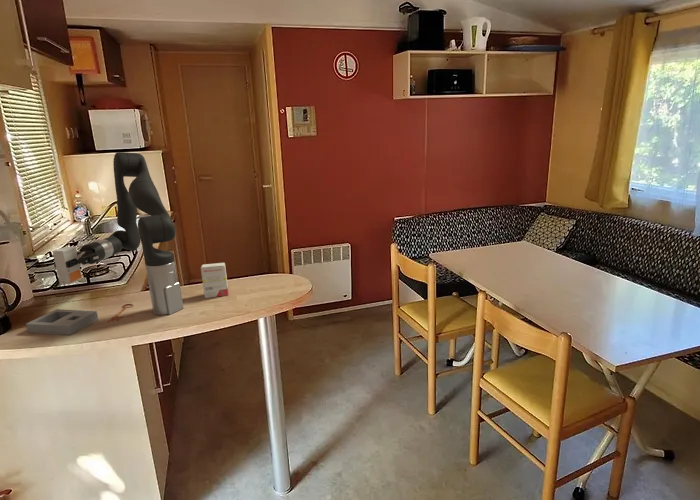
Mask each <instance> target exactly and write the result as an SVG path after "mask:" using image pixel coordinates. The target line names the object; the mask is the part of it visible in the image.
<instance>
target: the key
mask: <svg viewBox="0 0 700 500" xmlns="http://www.w3.org/2000/svg"><path fill="white" fill-rule="evenodd" d="M121 307H122V309H121V310H120V311H118V312H117V313H116V314H115V315H113V316H112V317H111V318H110V319H108V320H107V323H111V322H118V321H120V320H121V319H123V318H124V316H120V315H121V314H122V313H123V312H124V311H126V310H127V309H131V308H133V307H134V304H132V303H126V304H123V305H122V306H121Z"/></svg>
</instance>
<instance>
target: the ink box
mask: <svg viewBox="0 0 700 500" xmlns="http://www.w3.org/2000/svg"><path fill="white" fill-rule="evenodd" d="M200 273H201V279H202V280H201V281H202V287H203V293H204V299H208V298H215V297H216V298H218V297H223V296H225V297H226V296H229V287H228V286H229V285H228V278H227V277H228V276H227V269H226V263H225V262H217V263H207V264H206V263H205V264H202V265H201V266H200Z"/></svg>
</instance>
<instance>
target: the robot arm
mask: <svg viewBox="0 0 700 500" xmlns="http://www.w3.org/2000/svg"><path fill="white" fill-rule="evenodd" d="M112 164H113V175H114V176H113V177H114V185H115V194H116V203H117V204H116V205H117V207H116V209H117V210H116V214H117V216H116V217H117V219H116V221H117V222H116V224H117V226H119V227H120V228H122V229H123V230H121V229H120V230H115V231H114V232H113V233H112V234H110V235H109V236H108V237H105V238H103V239H98V240H95V241H92V242H89V243H86V244H84V245H82V246H81V247H80V249H79V250H78V251H77V250H76V251H77V256H78V257H77V258H75V259H72V260H69V261H67V262H66V267H67V268H70V267H73V266H75V265H76V264H77V265H79V266H80V265H83V266H84V265H94V264H97V263H100V262H101V261H103V260H105V259H107V258H109V257H112V256H114V255H116V254H118V253H120V252H121V251H122V249H124V250H127V251H128V250H129V251H135V250H137V249H138V248H139V247H140V245H141V246H142V252H143V258H144V265H145V270H146V277H147V282H148V289H149V295H150V296H149V297H150V300H151V306H152V312H153V314H155V315H162V316H163V315H172V314H174V313H176V312H178V311H180V310H183V309H184V304H183V296H182V288H181V283H180V282H178V276H177V270H176V268H177V267H176V262H175V256H174V253H173V252H172V251H169V250H165V249H164V250H163V249H160V248H159V249H158V248H156V247H155V246H154V244H159V243H161V244H162V243H166V242H167V243H168V242H170V241H173V240H174V239H175V236H176V227H175V223H174V222H173V218H172V217H171V215H170V214H169V212H168V211H167V209H166V207H165V206H164V204H163V201H162V199H161V197H160V195H159V191H158V189H157V187H156V185H155V184H154V181H153V179H152V177H151V174H150V171H149V168H148V164H147V161H146V159H145V156H144V155H142V154H141V153H138V152H126V151H125V152H123V151H122V152H121V151H117V152H115V154H114V157H113V163H112ZM124 177H127V178H128V177H130V178H131V177H133V178H134V179H132V181H131V183H130V184H129V187H128V189H127V187H126V184H125V179H124ZM138 210H139V211H141V212H143V213H145V214H147V215H148V216H141V217H139V219H137V218H138V217H137V213H138V212H137V211H138ZM53 266H54V268H55V269H56V264H55V260H54V261H53Z"/></svg>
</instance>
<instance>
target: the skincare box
mask: <svg viewBox="0 0 700 500" xmlns="http://www.w3.org/2000/svg"><path fill="white" fill-rule="evenodd" d="M52 254H53V260H54V261H55V264H56V268H55V269H56V273H57V276H58V277H57V278H58V282H59V285H71V284H74V283H76V282H78V281H81V280H83V275H82V272H81V267H80V265H77V264H76V265H75V266H73V267H70V268H67V267H66V262H67V261H69V260H72V259H75V258H77V257H78V256H77V247H76V246H65V247H61V248H58V249H56V250H55V249H54V250H52Z"/></svg>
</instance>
